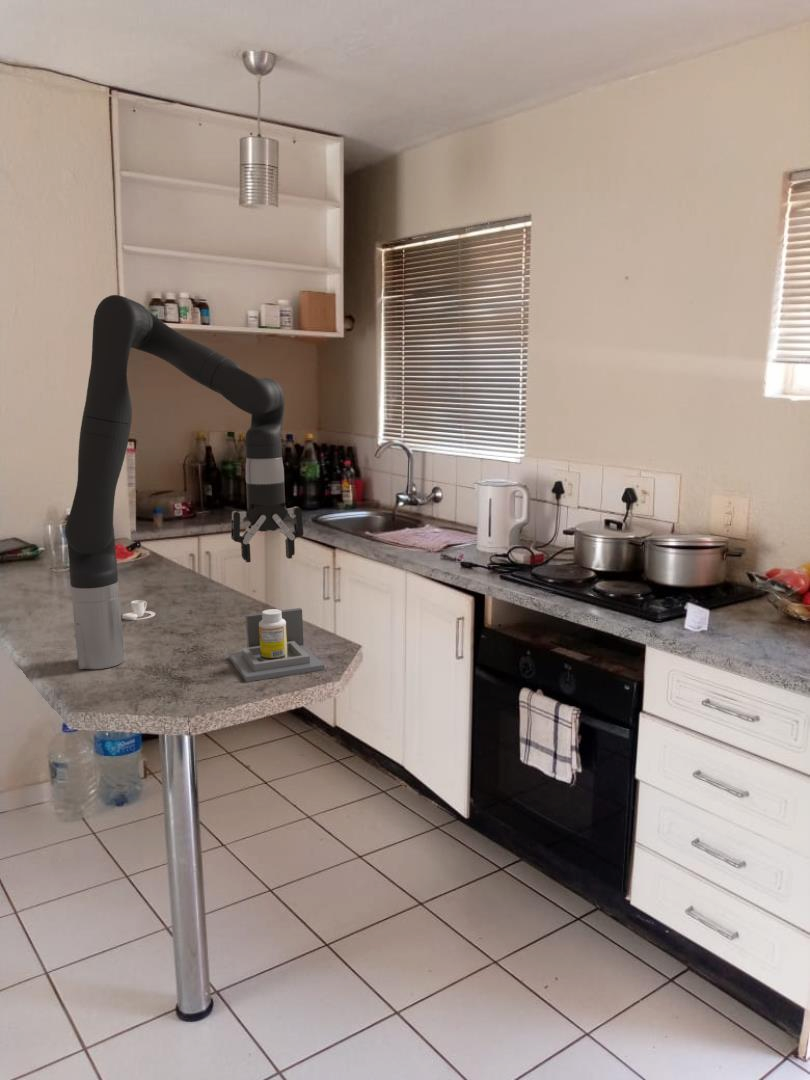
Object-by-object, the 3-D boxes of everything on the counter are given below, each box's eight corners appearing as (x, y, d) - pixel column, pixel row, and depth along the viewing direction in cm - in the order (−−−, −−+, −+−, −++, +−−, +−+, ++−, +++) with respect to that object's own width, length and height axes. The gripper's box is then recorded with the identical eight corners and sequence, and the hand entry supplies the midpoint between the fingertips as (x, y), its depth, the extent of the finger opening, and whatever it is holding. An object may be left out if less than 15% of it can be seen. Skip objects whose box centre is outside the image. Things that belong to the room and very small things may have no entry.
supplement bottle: (270, 653, 178) (267, 606, 176) (292, 656, 176) (290, 609, 174) (255, 661, 173) (252, 613, 171) (278, 664, 171) (275, 616, 169)
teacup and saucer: (126, 624, 207) (125, 608, 206) (114, 617, 213) (113, 602, 212) (160, 617, 212) (159, 601, 211) (147, 611, 218) (146, 596, 217)
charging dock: (246, 682, 164) (243, 637, 163) (229, 658, 179) (226, 617, 177) (324, 669, 170) (322, 626, 169) (301, 647, 185) (300, 607, 183)
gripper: (233, 484, 161) (237, 566, 164) (305, 480, 167) (307, 560, 170) (225, 480, 168) (229, 559, 171) (294, 476, 174) (297, 553, 177)
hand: (268, 559), depth 171 cm, fingers open, 8 cm apart
